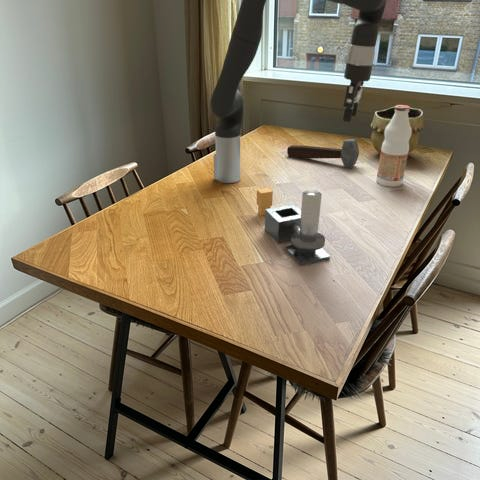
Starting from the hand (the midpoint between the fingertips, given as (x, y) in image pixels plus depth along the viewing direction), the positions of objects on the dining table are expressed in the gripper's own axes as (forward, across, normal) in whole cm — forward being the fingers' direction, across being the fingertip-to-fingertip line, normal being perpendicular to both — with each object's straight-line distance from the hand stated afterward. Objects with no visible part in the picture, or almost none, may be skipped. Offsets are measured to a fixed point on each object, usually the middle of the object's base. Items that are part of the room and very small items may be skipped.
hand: (349, 118), depth 135 cm
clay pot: (+26, -56, +12) cm, 63 cm away
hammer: (+28, -38, -14) cm, 50 cm away
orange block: (+30, +17, -19) cm, 39 cm away
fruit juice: (+27, -26, +15) cm, 40 cm away
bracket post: (+30, +32, -4) cm, 44 cm away
